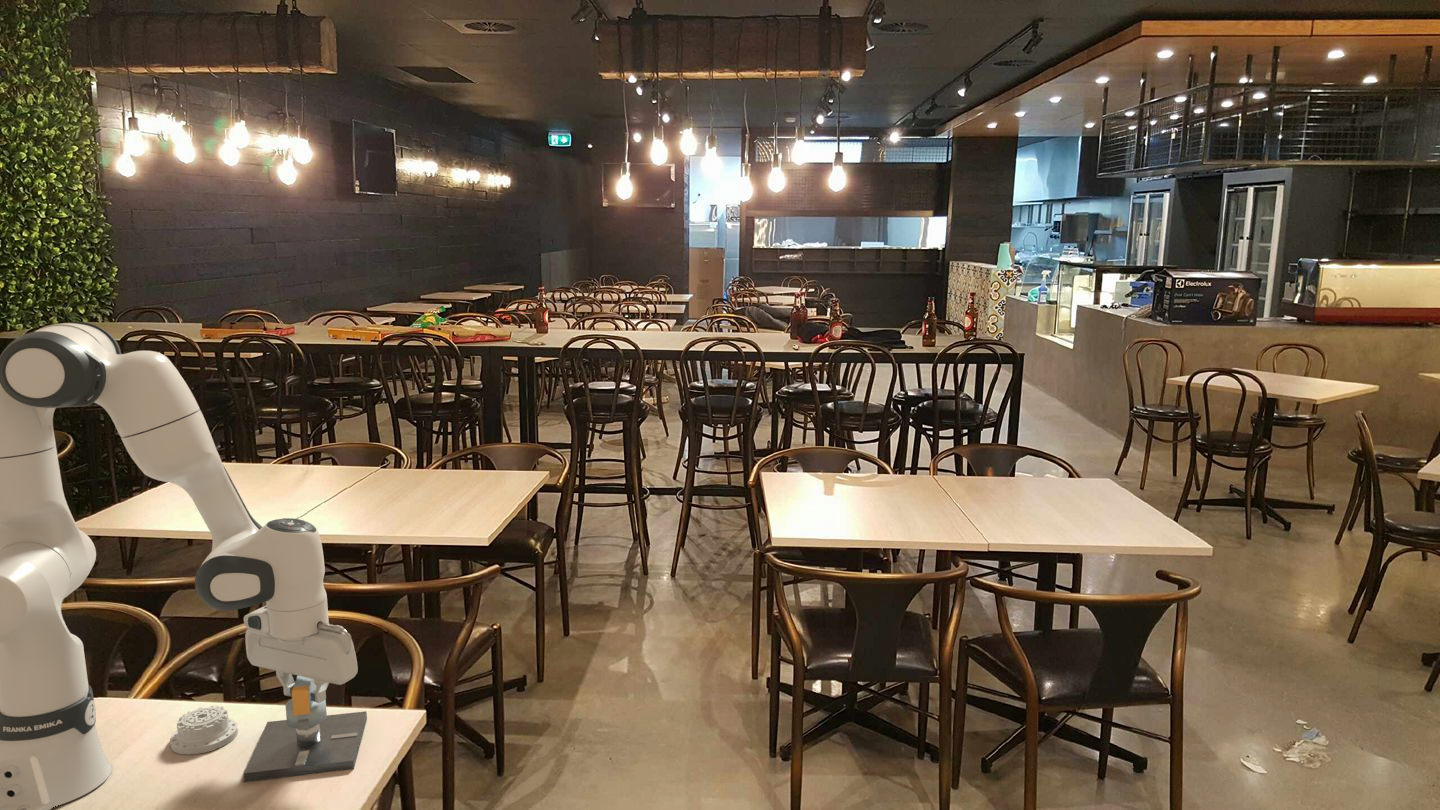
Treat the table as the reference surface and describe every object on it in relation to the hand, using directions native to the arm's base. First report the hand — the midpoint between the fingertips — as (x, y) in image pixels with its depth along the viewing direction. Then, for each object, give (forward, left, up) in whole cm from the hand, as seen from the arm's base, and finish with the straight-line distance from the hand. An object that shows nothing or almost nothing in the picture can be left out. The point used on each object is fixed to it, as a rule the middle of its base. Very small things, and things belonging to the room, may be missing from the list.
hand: (304, 697), depth 152 cm
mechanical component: (-18, +8, -10) cm, 21 cm away
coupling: (0, 0, -4) cm, 4 cm away
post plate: (0, 0, -9) cm, 9 cm away
